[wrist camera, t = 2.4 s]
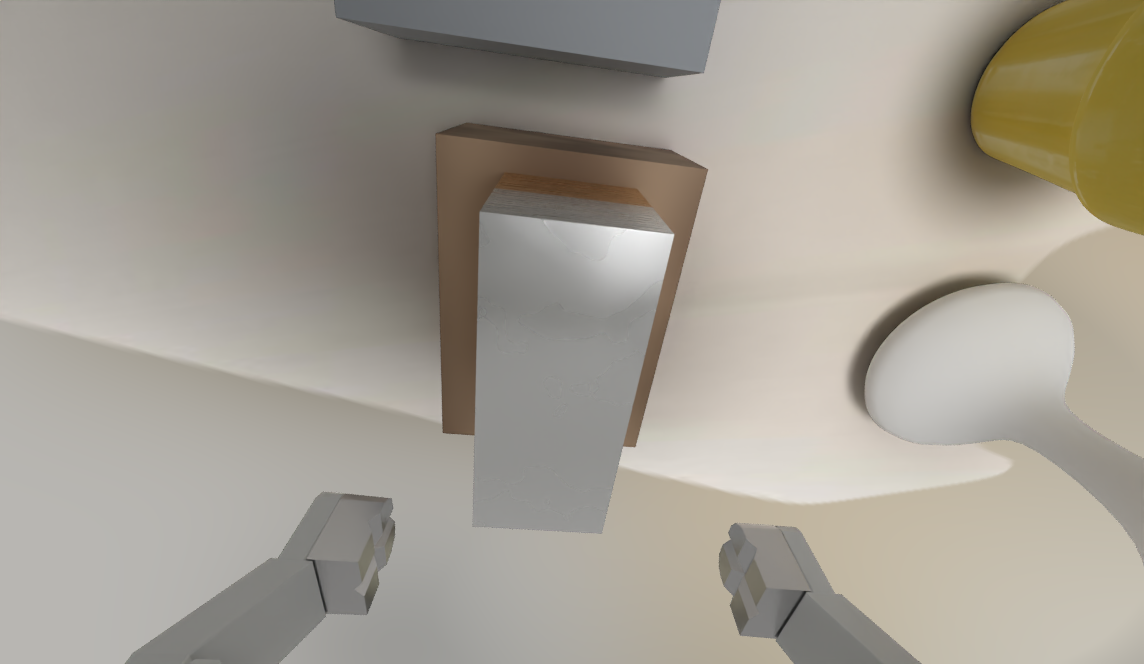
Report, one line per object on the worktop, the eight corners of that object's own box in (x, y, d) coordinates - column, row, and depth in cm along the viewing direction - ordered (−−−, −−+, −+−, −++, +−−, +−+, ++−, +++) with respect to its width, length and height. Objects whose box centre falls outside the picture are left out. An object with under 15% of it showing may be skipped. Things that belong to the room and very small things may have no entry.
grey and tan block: (493, 421, 22) (472, 526, 17) (505, 172, 16) (479, 211, 11) (591, 429, 22) (601, 533, 17) (637, 188, 16) (674, 234, 11)
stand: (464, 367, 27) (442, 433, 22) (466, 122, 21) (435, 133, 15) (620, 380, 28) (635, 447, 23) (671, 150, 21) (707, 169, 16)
